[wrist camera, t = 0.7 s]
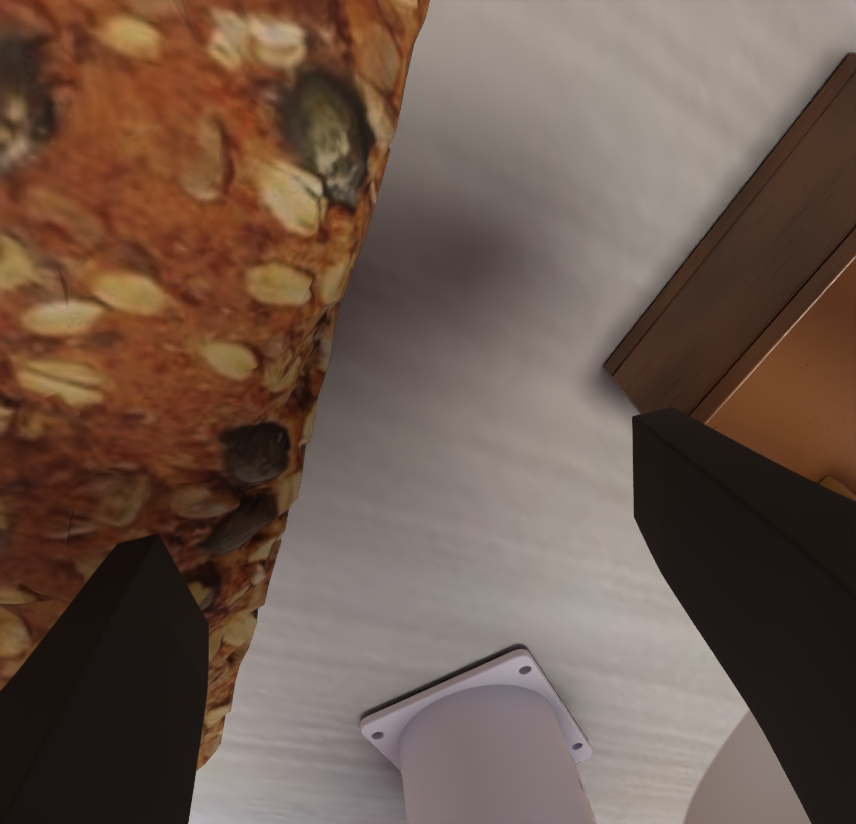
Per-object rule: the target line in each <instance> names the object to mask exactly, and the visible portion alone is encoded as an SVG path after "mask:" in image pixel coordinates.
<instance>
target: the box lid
mask: <svg viewBox="0 0 856 824" xmlns="http://www.w3.org/2000/svg"><path fill="white" fill-rule="evenodd" d="M690 417H692V418H694V419H696V420H698V421H700V422H701V423H703V424H705V425H707V426H709V427H711V428H713V429H714V430H716V431H718V432H720V433H722V434H724V435H725V436H727V437H729V438H731V439H733V440H735V441H736V442H738V443H740V444H742V445H744V446H746V447H748V448H749V449H751V450H753V451H755V452H757V453H759V454H761V455H763V456H764V457H766V458H768V459H770V460H772V461H774V462H776V463H778V464H780V465H782V466H784V467H786V468H788V469H790V470H792V471H794V472H796V473H798V474H799V475H801V476H803V477H805V478H807V479H810V480H812V481H814V482H816V483H818V484H820V485H822V486H824V487H826V488H828V489H830V490H832V491H834V492H837V493H839V494H841V495H843V496H845V497H848V498H850V499H852V500H854V501H856V228H855V229H854V230H853V231H852V233H851V234H850V235H849V236H848V237H847V238H846V239H845V240H844V242H843V243H842V244H841V245H840V246H839V247H838V248H837V250H836V251H835V252H834V253H833V254H832V255H831V256H830V257H829V259H828V260H827V261H826V262H825V263H824V264H823V265H822V267H821V268H820V269H819V270H818V271H817V272H816V273H815V274H814V276H813V277H812V278H811V279H810V280H809V281H808V282H807V284H806V285H805V286H804V287H803V288H802V289H801V290H800V292H799V293H798V294H797V295H796V296H795V297H794V298H793V299H792V301H791V302H790V303H789V304H788V305H787V306H786V307H785V309H784V310H783V311H782V312H781V313H780V314H779V315H778V316H777V318H776V319H775V320H774V321H773V322H772V323H771V324H770V326H769V327H768V328H767V329H766V330H765V331H764V332H763V333H762V335H761V336H760V337H759V338H758V339H757V340H756V341H755V343H754V344H753V345H752V346H751V347H750V348H749V349H748V351H747V352H746V353H745V354H744V355H743V356H742V357H741V358H740V360H739V361H738V362H737V363H736V364H735V365H734V366H733V368H732V369H731V370H730V371H729V372H728V373H727V374H726V375H725V377H724V378H723V379H722V380H721V381H720V382H719V383H718V385H717V386H716V387H715V388H714V389H713V390H712V391H711V392H710V394H709V395H708V396H707V397H706V398H705V399H704V400H703V402H702V403H701V404H700V405H699V406H698V407H697V408H696V410H695V411H694V412H693V413H692V414H691V415H690Z"/></svg>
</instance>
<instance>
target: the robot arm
mask: <svg viewBox="0 0 856 824" xmlns="http://www.w3.org/2000/svg"><path fill="white" fill-rule="evenodd" d="M632 428H633V488H634V518H635V520H636V522H637V525H638V527H639V529H640V531H641V533H642V535H643V537H644V539H645V541H646V544H647V546H648V548H649V550H650V552H651V554H652V556H653V558H654V560H655V562H656V564H657V566H658V568H659V570H660V572H661V574H662V575H663V577H664V578H665V580H666V582H667V583H668V585H669V586H670V588H671V589H672V591H673V592H674V594H675V596H676V597H677V599H678V600H679V602H680V603H681V605H682V606H683V608H684V609H685V611H686V612H687V614H688V616H689V617H690V619H691V620H692V622H693V623H694V625H695V626H696V628H697V629H698V631H699V632H700V634H701V635H702V637H703V638H704V640H705V641H706V643H707V644H708V646H709V647H710V649H711V650H712V652H713V653H714V655H715V656H716V658H717V659H718V661H719V663H720V664H721V666H722V667H723V669H724V670H725V672H726V673H727V675H728V676H729V678H730V679H731V681H732V682H733V684H734V685H735V687H736V688H737V690H738V691H739V693H740V694H741V696H742V697H743V699H744V700H745V702H746V704H747V705H748V707H749V709H750V710H751V712H752V713H753V715H754V717H755V719H756V720H757V722H758V724H759V725H760V727H761V728H762V730H763V732H764V734H765V736H766V737H767V739H768V741H769V743H770V745H771V747H772V749H773V751H774V753H775V754H776V756H777V758H778V760H779V762H780V764H781V766H782V768H783V769H784V771H785V773H786V775H787V777H788V779H789V781H790V783H791V785H792V786H793V788H794V790H795V792H796V794H797V795H798V798H799V799H800V802H801V803H802V805H803V808H804V809H805V811H806V813H807V815H808V817H809V819H810V821H811V823H812V824H856V501H854V500H852V499H850V498H848V497H845V496H843V495H841V494H839V493H837V492H834V491H832V490H830V489H828V488H826V487H824V486H822V485H820V484H818V483H816V482H814V481H812V480H810V479H807V478H805V477H803V476H801V475H799V474H798V473H796V472H794V471H792V470H790V469H788V468H786V467H784V466H782V465H780V464H778V463H776V462H774V461H772V460H770V459H768V458H766V457H764V456H763V455H761V454H759V453H757V452H755V451H753V450H751V449H749V448H748V447H746V446H744V445H742V444H740V443H738V442H736V441H735V440H733V439H731V438H729V437H727V436H725V435H724V434H722V433H720V432H718V431H716V430H714V429H713V428H711V427H709V426H707V425H705V424H703V423H701V422H700V421H698V420H696V419H694V418H692V417H690V416H688V415H686V414H685V413H683V412H681V411H679V410H677V409H675V408H673V407H669V408H665V409H661V410H657V411H653V412H649V413H645V414H641V415H637V416H633V417H632ZM208 670H209V623H208V622H207V620H206V618H205V616H204V614H203V613H202V611H201V609H200V607H199V605H198V604H197V602H196V600H195V598H194V596H193V595H192V593H191V591H190V589H189V587H188V585H187V584H186V582H185V580H184V578H183V576H182V575H181V573H180V571H179V569H178V567H177V566H176V564H175V562H174V560H173V558H172V557H171V555H170V553H169V551H168V549H167V547H166V546H165V544H164V542H163V540H162V538H161V537H160V535H159V533H158V534H154V535H150V536H146V537H142V538H138V539H134V540H130V541H126V542H122V543H118V544H117V545H116V546H115V547H114V548H113V550H112V551H111V552H110V553H109V554H108V556H107V557H106V558H105V559H104V560H103V562H102V563H101V564H100V566H99V567H98V568H97V569H96V571H95V572H94V573H93V574H92V576H91V577H90V578H89V580H88V581H87V582H86V584H85V585H84V586H83V587H82V589H81V590H80V591H79V593H78V594H77V595H76V597H75V598H74V599H73V600H72V602H71V603H70V604H69V606H68V607H67V608H66V610H65V611H64V612H63V614H62V615H61V616H60V617H59V619H58V620H57V621H56V622H55V624H54V625H53V626H52V628H51V629H50V630H49V631H48V633H47V634H46V635H45V636H44V638H43V639H42V640H41V642H40V643H39V644H38V645H37V647H36V648H35V649H34V651H33V652H32V653H31V654H30V656H29V657H28V658H27V659H26V661H25V662H24V663H23V665H22V666H21V667H20V668H19V670H18V671H17V672H16V673H15V674H14V675H13V677H12V678H11V679H10V680H9V681H8V683H7V684H6V685H5V686H4V687H3V689H2V690H1V691H0V824H188V822H189V815H190V808H191V802H192V795H193V789H194V782H195V775H196V769H197V762H198V756H199V749H200V742H201V735H202V729H203V722H204V715H205V708H206V700H207V692H208ZM360 731H361V733H362V734H363V735H364V736H365V737H366V738H367V739H368V740H369V741H370V742H371V743H372V744H373V745H374V746H375V747H376V748H377V749H378V750H379V751H380V752H381V753H382V754H383V755H384V756H385V757H387V758H388V759H389V760H390V761H391V762H392V763H393V764H394V765H395V766H396V767H397V768H398V769H399V770H400V771H401V774H402V782H403V790H404V797H405V805H406V813H407V821H408V824H597V823H596V820H595V817H594V814H593V811H592V809H591V806H590V803H589V800H588V797H587V795H586V792H585V789H584V786H583V783H582V780H581V778H580V775H579V772H578V769H577V766H576V764H578V763H581V762H583V761H585V760H587V759H589V758H590V757H591V756H592V755H593V750H592V748H591V745H590V744H589V742H588V741H587V739H586V738H585V736H584V734H583V733H582V731H581V730H580V728H579V727H578V725H577V724H576V722H575V721H574V719H573V718H572V716H571V715H570V713H569V712H568V710H567V709H566V707H565V706H564V704H563V703H562V701H561V700H560V698H559V697H558V695H557V693H556V692H555V690H554V689H553V687H552V686H551V684H550V683H549V681H548V680H547V678H546V677H545V675H544V674H543V672H542V671H541V669H540V668H539V666H538V665H537V663H536V662H535V660H534V659H533V657H532V656H531V654H530V652H528V651H527V650H525V649H517V650H514V651H512V652H509V653H507V654H505V655H503V656H501V657H498V658H496V659H494V660H492V661H489V662H487V663H485V664H483V665H480V666H478V667H476V668H474V669H472V670H469V671H467V672H465V673H463V674H460V675H458V676H456V677H454V678H452V679H449V680H447V681H445V682H443V683H440V684H438V685H436V686H434V687H431V688H429V689H427V690H425V691H423V692H420V693H418V694H416V695H414V696H411V697H409V698H407V699H405V700H402V701H400V702H398V703H396V704H394V705H391V706H389V707H387V708H385V709H382V710H380V711H378V712H376V713H373V714H371V715H369V716H367V717H365V718H363V719H362V721H361V722H360Z"/></svg>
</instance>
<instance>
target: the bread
mask: <svg viewBox="0 0 856 824" xmlns="http://www.w3.org/2000/svg"><path fill="white" fill-rule="evenodd" d="M429 2H430V0H0V691H1V690H2V689H3V687H4V686H5V685H6V684H7V683H8V681H9V680H10V679H11V678H12V677H13V675H14V674H15V673H16V672H17V671H18V670H19V668H20V667H21V666H22V665H23V663H24V662H25V661H26V659H27V658H28V657H29V656H30V654H31V653H32V652H33V651H34V649H35V648H36V647H37V645H38V644H39V643H40V642H41V640H42V639H43V638H44V636H45V635H46V634H47V633H48V631H49V630H50V629H51V628H52V626H53V625H54V624H55V622H56V621H57V620H58V619H59V617H60V616H61V615H62V614H63V612H64V611H65V610H66V608H67V607H68V606H69V604H70V603H71V602H72V600H73V599H74V598H75V597H76V595H77V594H78V593H79V591H80V590H81V589H82V587H83V586H84V585H85V584H86V582H87V581H88V580H89V578H90V577H91V576H92V574H93V573H94V572H95V571H96V569H97V568H98V567H99V566H100V564H101V563H102V562H103V560H104V559H105V558H106V557H107V556H108V554H109V553H110V552H111V551H112V550H113V548H114V547H115V546H116V545H117V544H118V543H122V542H126V541H130V540H134V539H138V538H142V537H146V536H150V535H154V534H158V533H159V535H160V537H161V538H162V540H163V542H164V544H165V546H166V547H167V549H168V551H169V553H170V555H171V557H172V558H173V560H174V562H175V564H176V566H177V567H178V569H179V571H180V573H181V575H182V576H183V578H184V580H185V582H186V584H187V585H188V587H189V589H190V591H191V593H192V595H193V596H194V598H195V600H196V602H197V604H198V605H199V607H200V609H201V611H202V613H203V614H204V616H205V618H206V620H207V622H208V623H209V670H208V692H207V700H206V708H205V715H204V722H203V729H202V735H201V742H200V749H199V756H198V762H197V769H196V771H197V770H198V769H199V768H201V767H202V766H203V765H204V764H205V763H206V762H207V761H208V760H209V759H210V757H211V756H212V755H213V754H214V752H215V751H216V750H217V748H218V747H219V745H220V743H221V738H222V733H223V727H224V721H225V715H226V714H227V713H228V712H230V711H231V706H232V700H233V693H234V686H235V681H236V677H237V674H238V670H239V666H240V663H241V661H242V660H243V658H244V656H245V654H246V652H247V650H248V648H249V646H250V643H251V640H252V637H253V633H254V630H255V627H256V624H257V613H258V608H259V607H261V606H263V605H264V604H265V599H266V595H267V590H268V586H269V582H270V578H271V575H272V571H273V568H274V564H275V561H276V558H277V554H278V551H279V547H280V544H281V536H282V534H283V532H284V531H285V528H286V522H287V517H288V512H289V509H290V507H291V504H292V503H293V502H294V501H295V500H296V499H297V498H298V495H299V489H300V483H301V477H302V471H303V463H304V455H305V447H306V444H307V443H308V442H310V441H311V436H312V430H313V424H314V418H315V412H316V405H317V399H318V394H319V391H320V388H321V385H322V383H323V380H324V377H325V374H326V371H327V368H328V366H329V363H330V357H331V348H332V338H333V334H334V330H335V325H336V321H337V316H338V312H339V308H340V303H341V300H342V298H343V296H344V293H345V291H346V288H347V285H348V282H349V279H350V277H351V274H352V271H353V268H354V266H355V263H356V260H357V258H358V255H359V253H360V250H361V248H362V245H363V242H364V240H365V237H366V234H367V230H368V227H369V224H370V220H371V217H372V213H373V210H374V206H375V203H376V199H377V196H378V192H379V189H380V185H381V181H382V178H383V174H384V171H385V167H386V163H387V160H388V156H389V153H390V148H389V145H390V143H391V140H392V138H393V136H394V134H395V132H396V129H397V124H398V119H399V115H400V110H401V104H402V99H403V93H404V87H405V83H406V79H407V74H408V70H409V65H410V61H411V56H412V52H413V47H414V43H415V41H416V39H417V36H418V34H419V32H420V30H421V28H422V25H423V23H424V21H425V19H426V15H427V11H428V6H429Z"/></svg>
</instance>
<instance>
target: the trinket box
mask: <svg viewBox="0 0 856 824" xmlns="http://www.w3.org/2000/svg"><path fill="white" fill-rule="evenodd" d="M855 228H856V53H851V54H849V55H848V57H847V58H846V59H845V60H844V62H843V63H842V64H841V66H840V67H839V68H838V69H837V71H836V72H835V73H834V74H833V76H832V77H831V78H830V80H829V81H828V82H827V83H826V85H825V86H824V87H823V88H822V90H821V91H820V92H819V93H818V95H817V96H816V97H815V99H814V100H813V101H812V102H811V104H810V105H809V106H808V107H807V109H806V110H805V111H804V113H803V114H802V115H801V116H800V118H799V119H798V120H797V121H796V123H795V124H794V125H793V126H792V128H791V129H790V130H789V132H788V133H787V134H786V135H785V137H784V138H783V139H782V140H781V142H780V143H779V144H778V146H777V147H776V148H775V149H774V151H773V152H772V153H771V154H770V156H769V157H768V158H767V159H766V161H765V162H764V163H763V165H762V166H761V167H760V168H759V170H758V171H757V172H756V173H755V175H754V176H753V177H752V179H751V180H750V181H749V182H748V184H747V185H746V186H745V187H744V189H743V190H742V191H741V192H740V194H739V195H738V196H737V198H736V199H735V200H734V201H733V203H732V204H731V205H730V206H729V208H728V209H727V210H726V212H725V213H724V214H723V215H722V217H721V218H720V219H719V220H718V222H717V223H716V224H715V225H714V227H713V228H712V229H711V231H710V232H709V233H708V234H707V236H706V237H705V238H704V239H703V241H702V242H701V243H700V245H699V246H698V247H697V248H696V250H695V251H694V252H693V253H692V255H691V256H690V257H689V258H688V260H687V261H686V262H685V264H684V265H683V266H682V267H681V269H680V270H679V271H678V272H677V274H676V275H675V276H674V278H673V279H672V280H671V281H670V283H669V284H668V285H667V286H666V288H665V289H664V290H663V291H662V293H661V294H660V295H659V297H658V298H657V299H656V300H655V302H654V303H653V304H652V305H651V307H650V308H649V309H648V311H647V312H646V313H645V314H644V316H643V317H642V318H641V319H640V321H639V322H638V323H637V324H636V326H635V327H634V328H633V330H632V331H631V332H630V333H629V335H628V336H627V337H626V338H625V340H624V341H623V342H622V344H621V345H620V346H619V347H618V349H617V350H616V351H615V352H614V354H613V355H612V356H611V357H610V359H609V360H608V361H607V363H606V364H605V365H604V368H605V370H606V371H607V372H608V374H609V375H610V376H611V377H612V378H613V380H614V381H615V382H616V384H617V385H618V386H619V388H620V389H621V390H622V391H623V393H624V394H625V395H626V396H627V398H628V399H629V400H630V401H631V403H632V404H633V405H634V407H635V408H636V409H637V410H638V412H639V413H640V414H645V413H649V412H653V411H657V410H661V409H665V408H669V407H673V408H675V409H677V410H679V411H681V412H683V413H685V414H686V415H688V416H690V415H691V414H692V413H693V412H694V411H695V410H696V408H697V407H698V406H699V405H700V404H701V403H702V402H703V400H704V399H705V398H706V397H707V396H708V395H709V394H710V392H711V391H712V390H713V389H714V388H715V387H716V386H717V385H718V383H719V382H720V381H721V380H722V379H723V378H724V377H725V375H726V374H727V373H728V372H729V371H730V370H731V369H732V368H733V366H734V365H735V364H736V363H737V362H738V361H739V360H740V358H741V357H742V356H743V355H744V354H745V353H746V352H747V351H748V349H749V348H750V347H751V346H752V345H753V344H754V343H755V341H756V340H757V339H758V338H759V337H760V336H761V335H762V333H763V332H764V331H765V330H766V329H767V328H768V327H769V326H770V324H771V323H772V322H773V321H774V320H775V319H776V318H777V316H778V315H779V314H780V313H781V312H782V311H783V310H784V309H785V307H786V306H787V305H788V304H789V303H790V302H791V301H792V299H793V298H794V297H795V296H796V295H797V294H798V293H799V292H800V290H801V289H802V288H803V287H804V286H805V285H806V284H807V282H808V281H809V280H810V279H811V278H812V277H813V276H814V274H815V273H816V272H817V271H818V270H819V269H820V268H821V267H822V265H823V264H824V263H825V262H826V261H827V260H828V259H829V257H830V256H831V255H832V254H833V253H834V252H835V251H836V250H837V248H838V247H839V246H840V245H841V244H842V243H843V242H844V240H845V239H846V238H847V237H848V236H849V235H850V234H851V233H852V231H853V230H854V229H855Z"/></svg>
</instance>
